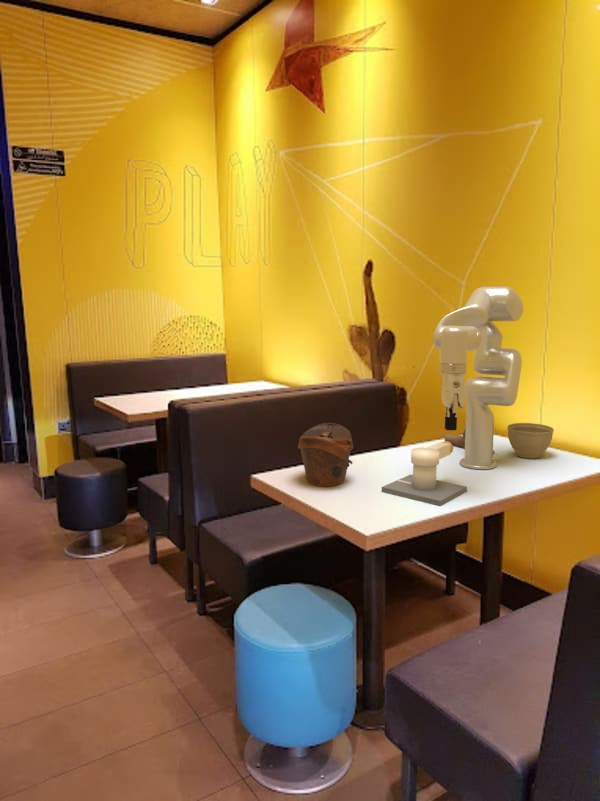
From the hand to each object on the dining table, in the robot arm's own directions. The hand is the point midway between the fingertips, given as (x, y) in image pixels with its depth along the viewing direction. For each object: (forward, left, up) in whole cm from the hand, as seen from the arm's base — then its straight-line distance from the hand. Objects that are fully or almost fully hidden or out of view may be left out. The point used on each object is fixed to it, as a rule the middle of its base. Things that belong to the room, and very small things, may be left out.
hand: (450, 429), depth 179 cm
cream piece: (-1, -6, -11) cm, 12 cm away
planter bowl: (-58, +3, -20) cm, 61 cm away
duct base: (+4, -6, -20) cm, 21 cm away
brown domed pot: (+15, -36, -20) cm, 44 cm away
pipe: (-54, -22, -20) cm, 62 cm away
